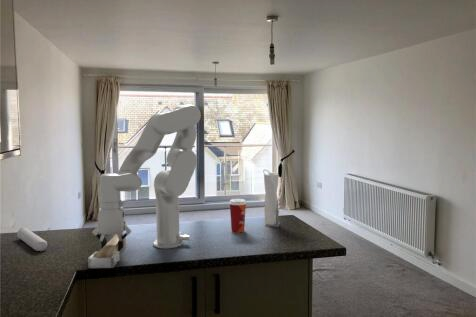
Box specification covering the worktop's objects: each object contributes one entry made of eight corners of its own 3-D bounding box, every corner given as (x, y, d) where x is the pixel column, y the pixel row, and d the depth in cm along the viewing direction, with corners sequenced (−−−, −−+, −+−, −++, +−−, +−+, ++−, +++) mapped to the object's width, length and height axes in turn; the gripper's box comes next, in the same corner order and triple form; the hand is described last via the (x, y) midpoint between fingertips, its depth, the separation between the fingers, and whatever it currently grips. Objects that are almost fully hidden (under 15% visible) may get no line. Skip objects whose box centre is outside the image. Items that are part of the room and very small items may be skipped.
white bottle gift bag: (262, 226, 188) (262, 170, 185) (263, 221, 195) (263, 168, 192) (279, 227, 186) (279, 170, 183) (279, 222, 194) (280, 168, 191)
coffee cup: (246, 233, 175) (246, 202, 174) (228, 233, 176) (228, 202, 174) (246, 228, 184) (246, 198, 182) (229, 228, 184) (229, 198, 182)
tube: (51, 241, 154) (31, 228, 172) (37, 239, 150) (18, 226, 168) (47, 254, 154) (27, 239, 171) (33, 253, 150) (15, 238, 167)
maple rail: (125, 245, 160) (125, 234, 160) (108, 266, 138) (108, 252, 138) (116, 245, 160) (116, 234, 159) (98, 266, 138) (97, 253, 138)
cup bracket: (119, 260, 143) (119, 251, 143) (113, 267, 136) (113, 258, 135) (95, 260, 143) (95, 251, 143) (88, 268, 136) (87, 258, 135)
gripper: (135, 202, 151) (136, 246, 153) (92, 203, 151) (94, 247, 153) (130, 207, 143) (131, 253, 145) (85, 207, 143) (87, 253, 145)
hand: (112, 249), depth 149 cm, fingers open, 5 cm apart
